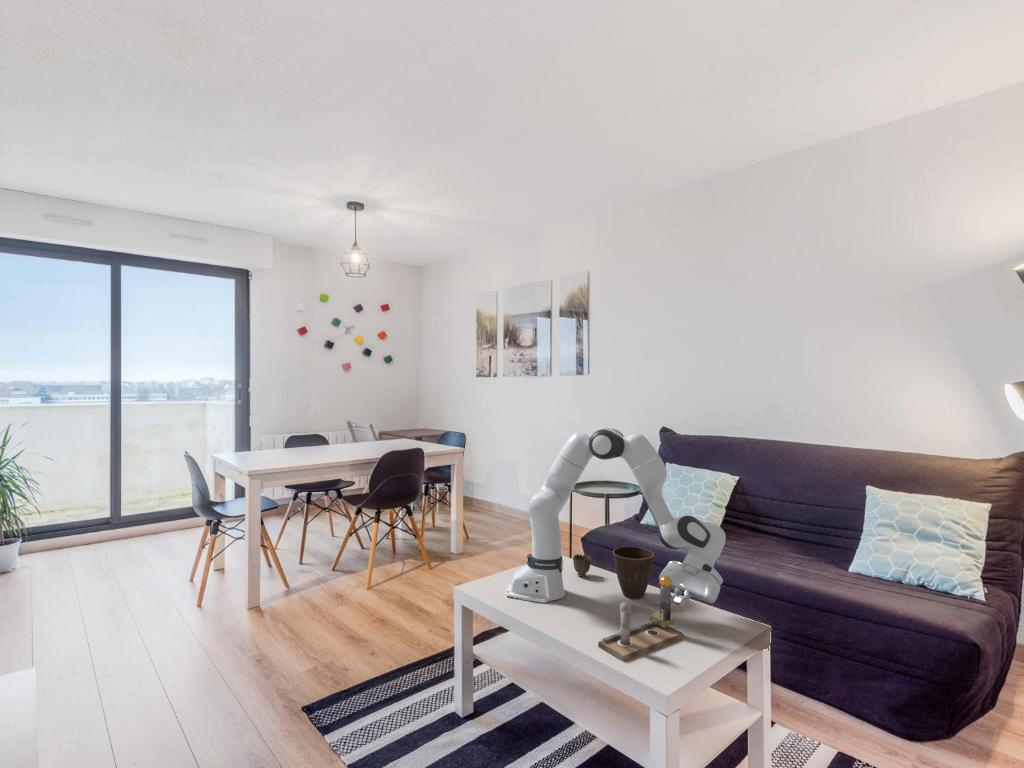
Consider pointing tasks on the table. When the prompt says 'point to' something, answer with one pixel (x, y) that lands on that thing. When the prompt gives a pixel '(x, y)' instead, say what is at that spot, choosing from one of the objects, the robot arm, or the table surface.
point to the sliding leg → (664, 604)
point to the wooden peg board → (637, 637)
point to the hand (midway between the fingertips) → (677, 603)
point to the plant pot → (633, 570)
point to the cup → (581, 564)
